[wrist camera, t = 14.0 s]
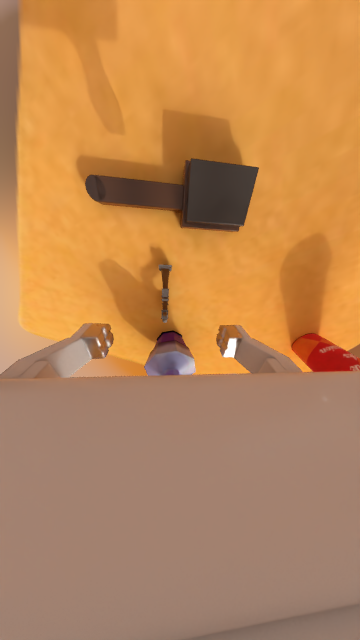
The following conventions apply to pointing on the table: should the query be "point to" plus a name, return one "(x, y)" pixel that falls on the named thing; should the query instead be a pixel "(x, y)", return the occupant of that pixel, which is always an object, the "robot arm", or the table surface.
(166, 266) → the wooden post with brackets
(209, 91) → the table surface
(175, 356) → the potion bottle
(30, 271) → the table surface
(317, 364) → the coffee cup
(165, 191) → the mallet
